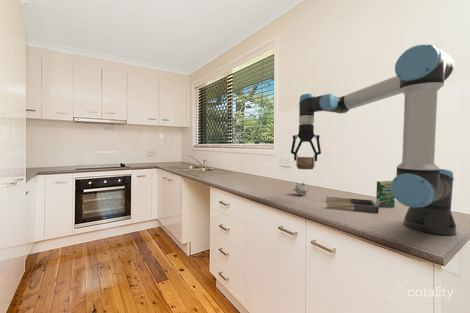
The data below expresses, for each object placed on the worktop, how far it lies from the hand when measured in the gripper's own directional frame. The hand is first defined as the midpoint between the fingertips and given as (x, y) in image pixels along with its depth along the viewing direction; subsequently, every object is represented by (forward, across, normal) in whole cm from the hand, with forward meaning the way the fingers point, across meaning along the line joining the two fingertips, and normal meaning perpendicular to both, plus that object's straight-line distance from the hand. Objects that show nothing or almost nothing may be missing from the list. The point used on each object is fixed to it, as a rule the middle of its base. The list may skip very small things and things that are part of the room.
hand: (305, 167), depth 119 cm
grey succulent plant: (+20, +3, -16) cm, 26 cm away
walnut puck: (+1, 0, 0) cm, 1 cm away
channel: (+19, -22, 0) cm, 29 cm away
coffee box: (+20, -39, -8) cm, 44 cm away
